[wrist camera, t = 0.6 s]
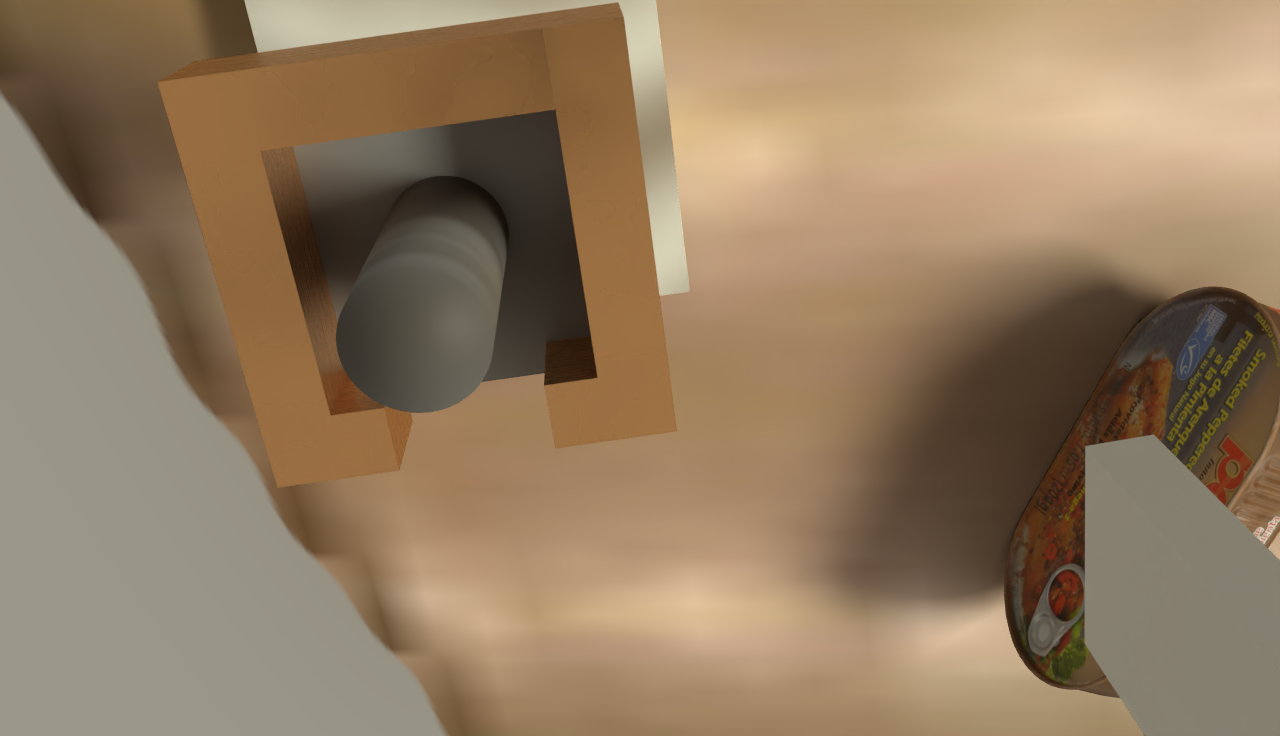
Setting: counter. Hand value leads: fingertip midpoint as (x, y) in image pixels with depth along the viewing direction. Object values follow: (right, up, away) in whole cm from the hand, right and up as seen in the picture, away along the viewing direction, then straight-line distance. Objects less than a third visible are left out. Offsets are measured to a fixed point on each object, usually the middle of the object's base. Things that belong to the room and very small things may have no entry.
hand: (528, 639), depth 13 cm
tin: (+19, 0, +30) cm, 36 cm away
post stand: (-4, +11, +24) cm, 27 cm away
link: (-3, +6, +13) cm, 15 cm away
